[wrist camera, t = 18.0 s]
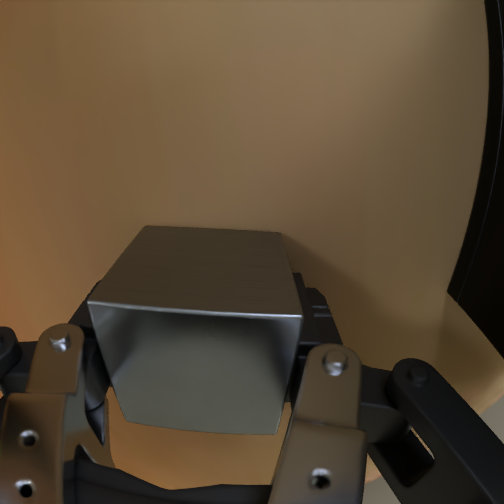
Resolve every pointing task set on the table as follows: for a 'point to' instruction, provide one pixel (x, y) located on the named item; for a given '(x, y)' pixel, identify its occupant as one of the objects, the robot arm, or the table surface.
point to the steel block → (200, 329)
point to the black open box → (487, 208)
